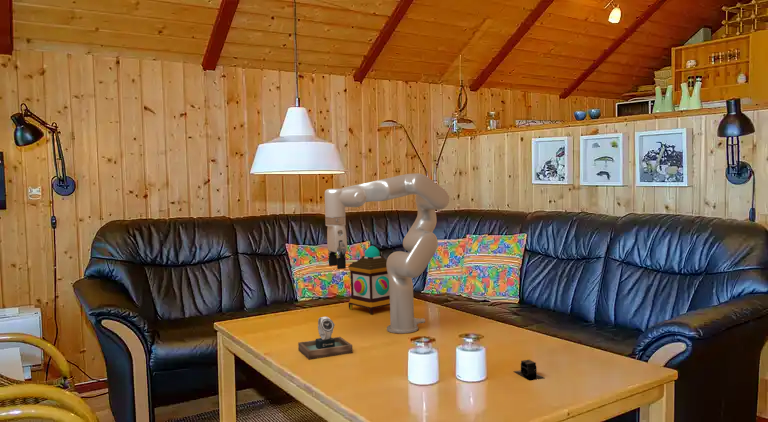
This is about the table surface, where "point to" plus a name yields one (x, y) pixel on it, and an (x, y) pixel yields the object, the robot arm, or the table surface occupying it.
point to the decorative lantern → (369, 281)
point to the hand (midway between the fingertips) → (337, 267)
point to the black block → (528, 370)
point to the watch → (325, 333)
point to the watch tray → (325, 349)
